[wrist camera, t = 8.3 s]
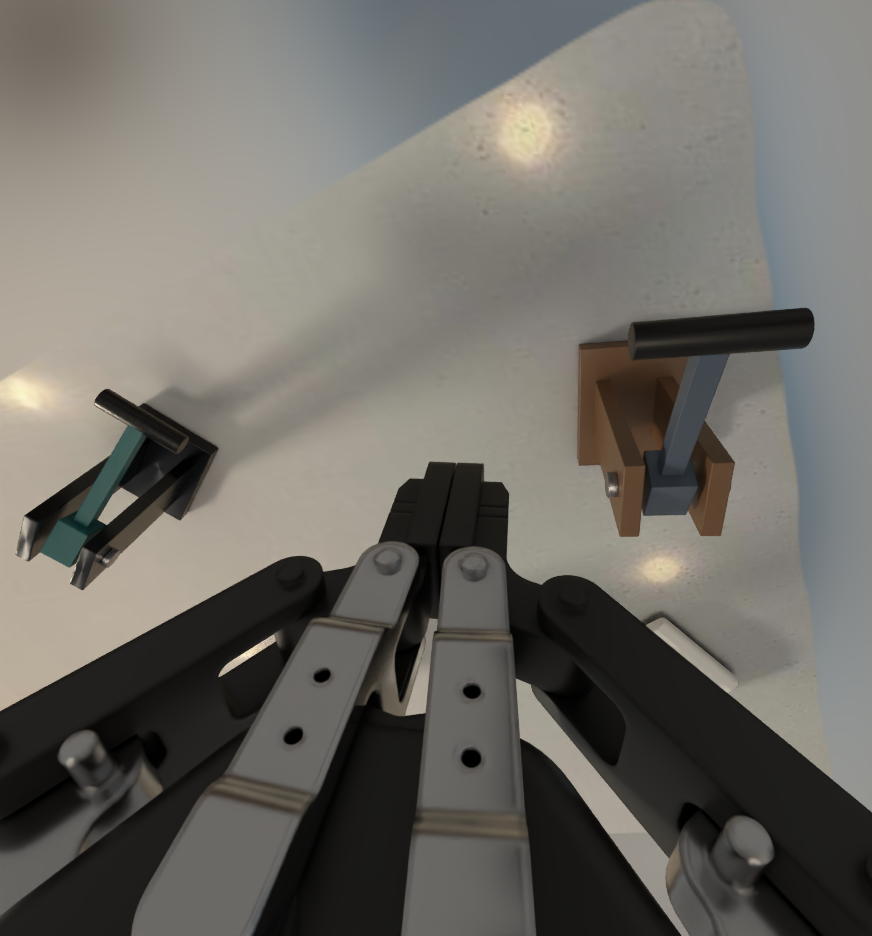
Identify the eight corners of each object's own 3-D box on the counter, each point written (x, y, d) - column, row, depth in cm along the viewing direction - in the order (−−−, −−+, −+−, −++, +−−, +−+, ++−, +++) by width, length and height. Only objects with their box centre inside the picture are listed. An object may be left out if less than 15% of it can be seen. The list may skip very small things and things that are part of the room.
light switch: (555, 699, 49) (670, 648, 42) (555, 663, 52) (661, 610, 46) (630, 753, 51) (750, 712, 45) (625, 714, 55) (735, 671, 48)
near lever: (629, 306, 20) (638, 348, 18) (801, 291, 19) (825, 334, 17) (601, 480, 29) (606, 516, 28) (714, 477, 28) (724, 514, 27)
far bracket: (143, 402, 42) (13, 483, 32) (218, 448, 44) (118, 541, 33) (118, 474, 47) (-4, 567, 36) (187, 513, 48) (89, 614, 37)
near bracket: (578, 344, 35) (605, 425, 24) (688, 335, 33) (768, 416, 23) (577, 458, 39) (598, 569, 28) (673, 454, 38) (735, 570, 27)
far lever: (116, 387, 35) (96, 389, 33) (194, 434, 36) (180, 439, 34) (36, 526, 37) (11, 538, 34) (113, 568, 38) (94, 581, 35)
